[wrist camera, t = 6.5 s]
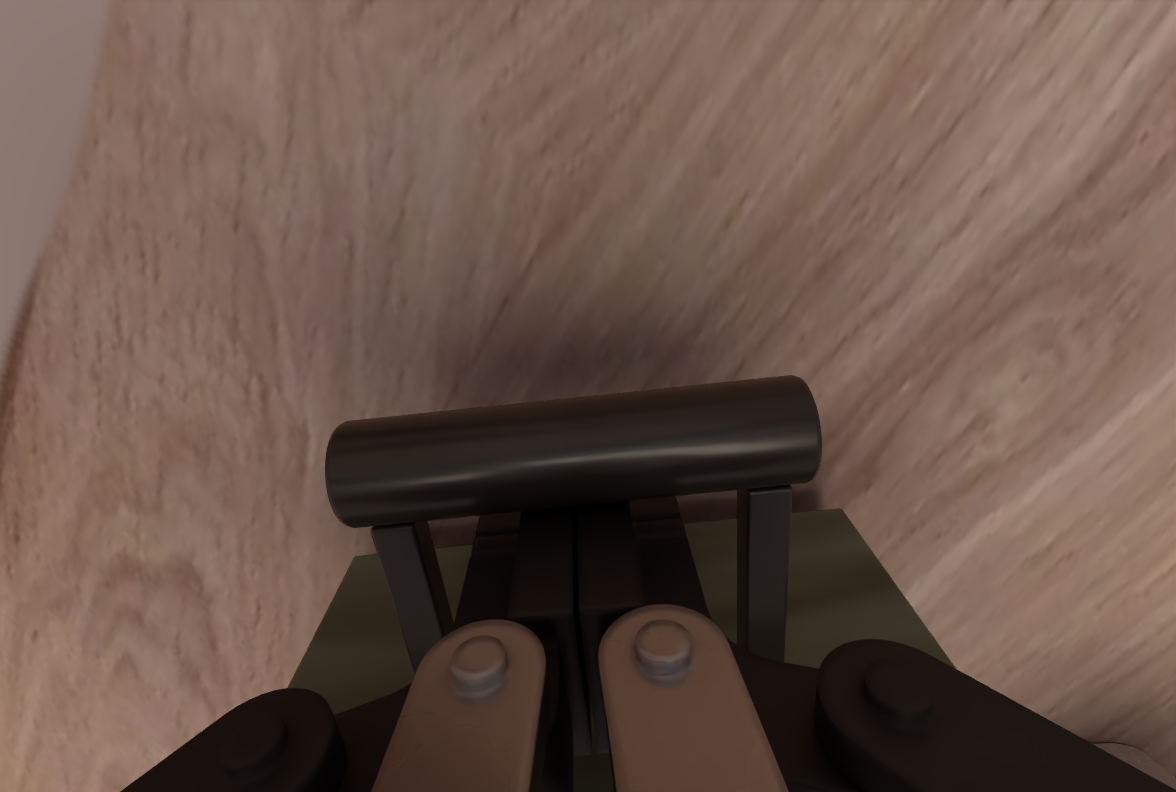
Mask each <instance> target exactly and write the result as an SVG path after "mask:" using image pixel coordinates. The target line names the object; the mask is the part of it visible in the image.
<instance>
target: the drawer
mask: <svg viewBox="0 0 1176 792" xmlns="http://www.w3.org/2000/svg"><path fill="white" fill-rule="evenodd" d="M821 453H822V435H821V426H820V420H819V415H818V411H817V407H816V404H815V401H814V398H813V396H812V393H811V391H810V389H809V387H808V386H807V384H806V383H805V381H804V380H803V379H801V378H800V377H797V376H793V375H788V376H779V377H769V378H759V379H750V380H740V381H730V382H720V383H711V384H701V385H691V386H682V387H672V388H662V389H653V390H643V391H633V392H623V393H614V394H604V395H594V396H585V397H575V398H565V399H555V400H546V401H536V402H526V403H517V404H507V405H497V406H487V407H478V408H468V409H458V410H449V411H439V412H429V413H419V414H410V415H400V416H390V417H381V418H371V419H361V420H351V421H346V422H344V423H342V424H340V425H339V426H338V427H337V428H336V429H335V430H334V432H333V433H332V435H331V437H330V440H329V443H328V447H327V452H326V461H325V478H326V487H327V493H328V497H329V501H330V504H331V507H332V509H333V511H334V513H335V515H336V517H337V518H338V519H339V521H340V522H341V523H343V524H344V525H346V526H349V527H352V528H359V527H369V526H372V528H371V534H372V537H373V540H374V544H375V547H376V550H377V553H378V554H373V555H362V556H355V557H354V559H353V561H352V562H351V564H350V566H349V568H348V570H347V572H346V574H345V576H344V578H343V580H342V582H341V584H340V586H339V588H338V590H337V592H336V594H335V596H334V598H333V600H332V602H331V604H330V606H329V608H328V610H327V611H326V613H325V615H324V617H323V619H322V621H321V623H320V625H319V627H318V629H317V631H316V633H315V635H314V637H313V639H312V641H311V643H310V645H309V647H308V649H307V651H306V653H305V655H304V657H303V659H302V661H301V662H300V664H299V666H298V668H297V670H296V672H295V674H294V676H293V678H292V680H291V682H290V684H289V686H288V688H302V689H308V690H311V691H314V692H316V693H318V694H319V695H321V696H323V697H324V699H325V700H326V701H327V702H328V703H329V706H330V708H331V710H332V712H333V715H335V714H338V713H341V712H343V711H346V710H349V709H352V708H354V707H357V706H360V705H362V704H365V703H368V702H371V701H373V700H376V699H379V698H381V697H384V696H387V695H389V694H391V693H394V692H396V691H398V690H400V689H402V688H403V687H405V686H407V685H409V684H410V683H412V682H413V679H414V677H415V674H416V671H417V669H418V667H419V665H420V663H421V661H422V659H423V658H424V656H425V655H426V654H427V652H428V651H429V650H430V649H431V648H432V647H433V646H434V645H435V644H436V643H437V642H438V641H439V640H440V639H442V638H443V637H444V636H446V635H447V634H449V633H450V632H452V630H453V626H454V622H455V617H456V613H457V609H458V605H459V601H460V597H461V592H462V588H463V584H464V580H465V576H466V572H467V567H468V563H469V559H470V557H471V556H472V554H471V551H472V547H473V545H464V546H454V547H443V548H434V544H433V540H432V536H431V532H430V528H429V524H428V521H429V520H439V519H449V518H459V517H469V516H479V515H489V514H499V513H510V512H520V511H530V510H540V509H550V508H560V507H570V506H580V505H590V504H600V503H610V502H620V501H630V500H640V499H650V498H660V497H670V496H680V495H690V494H700V493H710V492H720V491H730V490H737V519H727V520H717V521H707V522H696V523H686V524H684V528H685V531H686V537H687V538H688V542H689V545H690V549H691V552H692V556H693V560H694V563H695V567H696V570H697V574H698V577H699V581H700V584H701V588H702V591H703V595H704V598H705V602H706V605H707V609H708V611H709V614H710V616H711V618H712V620H713V622H714V623H715V624H716V625H717V626H718V627H719V629H720V630H721V631H722V632H723V634H724V635H725V636H726V637H727V638H728V639H730V640H731V641H732V642H734V643H735V644H737V645H738V646H740V647H741V648H743V649H745V650H747V651H749V652H751V653H753V654H756V655H758V656H761V657H764V658H768V659H772V660H776V661H781V662H786V663H791V664H797V665H802V666H808V667H813V668H818V669H819V668H820V666H821V663H822V661H823V660H824V659H825V657H826V656H827V655H828V654H829V653H830V652H831V651H832V650H833V649H835V648H836V647H838V646H840V645H842V644H844V643H848V642H851V641H854V640H862V639H881V640H889V641H894V642H898V643H902V644H905V645H908V646H911V647H914V648H917V649H919V650H921V651H923V652H925V653H927V654H929V655H931V656H933V657H935V658H937V659H938V660H940V661H942V662H944V663H946V664H948V665H949V666H951V667H953V668H955V666H954V665H953V664H952V662H951V661H950V659H949V658H948V657H947V655H946V654H945V653H944V651H943V650H942V648H941V647H940V646H939V644H938V643H937V641H936V640H935V639H934V637H933V636H932V634H931V633H930V632H929V630H928V629H927V627H926V626H925V625H924V623H923V622H922V620H921V619H920V618H919V616H918V615H917V613H916V612H915V611H914V609H913V608H912V606H911V605H910V604H909V602H908V601H907V599H906V598H905V597H904V595H903V594H902V592H901V591H900V590H899V588H898V587H897V585H896V584H895V583H894V581H893V580H892V578H891V577H890V576H889V574H888V573H887V571H886V570H885V569H884V567H883V566H882V564H881V563H880V562H879V560H878V559H877V558H876V556H875V555H874V553H873V552H872V551H871V549H870V548H869V546H868V545H867V544H866V542H865V541H864V539H863V538H862V537H861V535H860V534H859V532H858V531H857V530H856V528H855V527H854V525H853V524H852V523H851V521H850V520H849V518H848V517H847V516H846V514H845V513H844V511H843V510H842V509H840V508H838V509H828V510H818V511H808V512H798V513H791V508H792V487H791V486H790V484H800V483H807V482H809V481H811V480H812V479H814V478H815V477H816V475H817V473H818V471H819V467H820V462H821ZM955 669H956V668H955ZM590 703H591V700H590ZM591 733H592V755H586V756H575V757H574V792H614V787H613V778H612V770H611V761H610V753H605V754H597V746H596V739H595V731H594V723H593V716H592V708H591Z"/></svg>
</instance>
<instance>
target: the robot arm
mask: <svg viewBox="0 0 1176 792" xmlns="http://www.w3.org/2000/svg"><path fill="white" fill-rule="evenodd" d="M471 554H472V556H471V557H470V559H469V563H468V567H467V572H466V576H465V580H464V584H463V588H462V592H461V597H460V601H459V605H458V609H457V613H456V617H455V622H454V626H453V630H452V632H450V633H449V634H447V635H446V636H444V637H443V638H442V639H440V640H439V641H438V642H437V643H436V644H435V645H434V646H433V647H432V648H431V649H430V650H429V651H428V652H427V654H426V655H425V656H424V658H423V659H422V661H421V663H420V665H419V667H418V669H417V671H416V674H415V677H414V679H413V682H412V683H410V684H409V685H407V686H405V687H403V688H402V689H400V690H398V691H396V692H394V693H391V694H389V695H387V696H384V697H381V698H379V699H376V700H373V701H371V702H368V703H365V704H362V705H360V706H357V707H354V708H352V709H349V710H346V711H343V712H341V713H338V714H335V715H333V712H332V710H331V708H330V706H329V703H328V702H327V701H326V700H325V699H324V697H323V696H321V695H319V694H318V693H316V692H314V691H311V690H308V689H302V688H285V689H280V690H275V691H271V692H268V693H265V694H262V695H259V696H257V697H255V698H252V699H250V700H248V701H246V702H244V703H242V704H241V705H239V706H237V707H235V708H234V709H232V710H231V711H229V712H228V713H226V714H225V715H224V716H222V717H221V718H219V719H218V720H217V721H215V722H214V723H213V724H211V725H210V726H209V727H207V728H206V729H205V730H203V731H202V732H200V733H199V734H198V735H196V736H195V737H194V738H192V739H191V740H190V741H188V742H187V743H186V744H184V745H183V746H182V747H180V748H179V749H177V750H176V751H175V752H173V753H172V754H171V755H169V756H168V757H167V758H165V759H164V760H163V761H161V762H160V763H158V764H157V765H156V766H154V767H153V768H152V769H150V770H149V771H148V772H146V773H145V774H144V775H142V776H141V777H140V778H138V779H137V780H135V781H134V782H133V783H131V784H130V785H129V786H127V787H126V788H125V789H123V790H122V791H121V792H574V757H575V756H586V755H592V733H591V708H592V716H593V723H594V731H595V739H596V746H597V754H605V753H610V761H611V770H612V778H613V787H614V792H1176V790H1175V789H1173V788H1172V787H1170V786H1168V785H1166V784H1164V783H1163V782H1161V781H1159V780H1157V779H1155V778H1153V777H1152V776H1150V775H1148V774H1146V773H1144V772H1142V771H1141V770H1139V769H1137V768H1135V767H1133V766H1132V765H1130V764H1128V763H1126V762H1124V761H1122V760H1121V759H1119V758H1117V757H1115V756H1113V755H1112V754H1110V753H1108V752H1106V751H1104V750H1102V749H1101V748H1099V747H1097V746H1095V745H1093V744H1091V743H1090V742H1088V741H1086V740H1084V739H1082V738H1081V737H1079V736H1077V735H1075V734H1073V733H1071V732H1070V731H1068V730H1066V729H1064V728H1062V727H1060V726H1059V725H1057V724H1055V723H1053V722H1051V721H1050V720H1048V719H1046V718H1044V717H1042V716H1040V715H1039V714H1037V713H1035V712H1033V711H1031V710H1030V709H1028V708H1026V707H1024V706H1022V705H1020V704H1019V703H1017V702H1015V701H1013V700H1011V699H1009V698H1008V697H1006V696H1004V695H1002V694H1000V693H999V692H997V691H995V690H993V689H991V688H989V687H988V686H986V685H984V684H982V683H980V682H978V681H977V680H975V679H973V678H971V677H969V676H968V675H966V674H964V673H962V672H960V671H958V670H957V669H955V668H953V667H951V666H949V665H948V664H946V663H944V662H942V661H940V660H938V659H937V658H935V657H933V656H931V655H929V654H927V653H925V652H923V651H921V650H919V649H917V648H914V647H911V646H908V645H905V644H902V643H898V642H894V641H889V640H881V639H862V640H854V641H851V642H848V643H844V644H842V645H840V646H838V647H836V648H835V649H833V650H832V651H831V652H830V653H829V654H828V655H827V656H826V657H825V659H824V660H823V661H822V663H821V666H820V668H819V669H818V668H813V667H808V666H802V665H797V664H791V663H786V662H781V661H776V660H772V659H768V658H764V657H761V656H758V655H756V654H753V653H751V652H749V651H747V650H745V649H743V648H741V647H740V646H738V645H737V644H735V643H734V642H732V641H731V640H730V639H728V638H727V637H726V636H725V635H724V634H723V632H722V631H721V630H720V629H719V627H718V626H717V625H716V624H715V623H714V622H713V620H712V618H711V616H710V614H709V611H708V609H707V605H706V602H705V598H704V595H703V591H702V588H701V584H700V581H699V577H698V574H697V570H696V567H695V563H694V560H693V556H692V552H691V549H690V545H689V542H688V538H687V537H686V531H685V528H684V524H683V521H682V518H681V515H680V510H679V507H678V503H677V500H676V496H670V497H660V498H650V499H640V500H630V501H620V502H610V503H600V504H590V505H580V506H570V507H560V508H550V509H540V510H530V511H520V512H510V513H499V514H489V515H480V517H479V522H478V526H477V530H476V537H475V538H474V542H473V547H472V551H471ZM590 700H591V703H590Z"/></svg>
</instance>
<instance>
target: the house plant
mask: <svg viewBox="0 0 1176 792" xmlns="http://www.w3.org/2000/svg"><path fill="white" fill-rule="evenodd" d="M1093 745H1095V746H1097V747H1099V748H1101V749H1102V750H1104V751H1106V752H1108V753H1110V754H1112V755H1113V756H1115V757H1117V758H1119V759H1121V760H1122V761H1124V762H1126V763H1128V764H1130V765H1132V766H1133V767H1135V768H1137V769H1139V770H1141V771H1142V772H1144V773H1146V774H1148V775H1150V776H1152V777H1153V778H1155V779H1157V780H1159V781H1161V782H1163V783H1164V784H1166V785H1168V786H1170V787H1172V788H1173V789H1175V790H1176V778H1175V777H1174V776H1172V775H1171V774H1170V773H1169V772H1168V771H1166V770H1165V769H1164V768H1163V767H1162V766H1161V765H1159V764H1158V763H1157V762H1156V761H1155V760H1153V759H1152V758H1151V757H1150V756H1149V755H1148V754H1146V753H1145V752H1144V751H1141V750H1139V749H1137V748H1134V747H1132V746H1129V745H1122V744H1116V743H1102V744H1093Z"/></svg>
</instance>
